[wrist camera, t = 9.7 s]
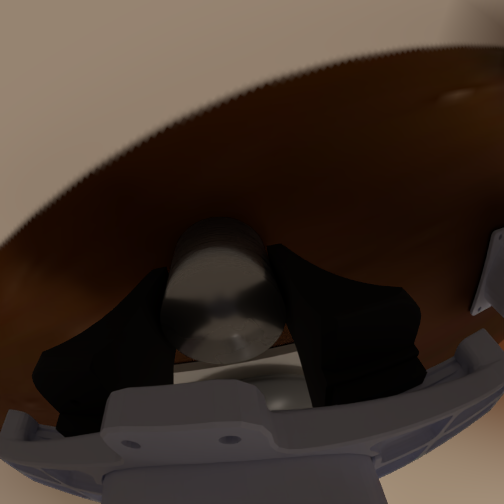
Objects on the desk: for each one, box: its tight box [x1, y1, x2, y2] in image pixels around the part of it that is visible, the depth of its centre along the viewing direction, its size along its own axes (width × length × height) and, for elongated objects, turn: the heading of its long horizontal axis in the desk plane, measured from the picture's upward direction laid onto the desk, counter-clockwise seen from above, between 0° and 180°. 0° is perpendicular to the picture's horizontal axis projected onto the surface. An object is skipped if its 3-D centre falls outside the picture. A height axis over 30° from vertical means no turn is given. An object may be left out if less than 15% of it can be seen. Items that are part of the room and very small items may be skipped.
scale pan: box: [239, 374, 313, 410], centre depth 18 cm, size 13×12×1 cm
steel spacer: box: [160, 217, 286, 364], centre depth 12 cm, size 4×4×4 cm
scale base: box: [174, 343, 304, 384], centre depth 19 cm, size 13×13×1 cm
